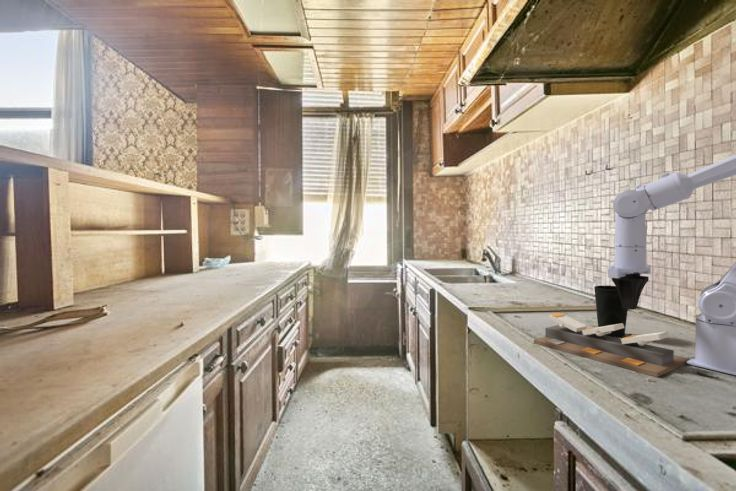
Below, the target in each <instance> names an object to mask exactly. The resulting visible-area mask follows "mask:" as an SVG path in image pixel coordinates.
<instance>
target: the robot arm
mask: <svg viewBox="0 0 736 491" xmlns="http://www.w3.org/2000/svg"><path fill="white" fill-rule="evenodd" d="M734 176H736V154H733V155H731V156H729V157H726V158H724V159H722V160H720V161H719V160H718V161H717V162H715V163H712V164H710V165H708V166H705V167H702V168H701V169H697V170H695V171H692V172H691V173H689V174H686V173H685V174H684V173H681V172H674V173H672V174H670V173H669V172H665V173H663V174H661V175H660V177H661V178H659V179H656V180H653V181H650V182H648V183H646V184H644V185H641V184H637V185H635V187H634V188H635V189H625V190H623V191H622V192H620V193H619V194H618V195H616V196H615V198H614V199H613V201H612V202H613V203H612V208H613V211H614V212H615V220H614V221H615V225H614V260H613V262H614V265H608V268H607V278H611V281H612V282H613V283H614V286H616V288H617V290H618V292H619V295H620V299H621V303H622V306H623V308H625V309H628V310H632V311H633V310H636V309H637V306H638V304H639V300H640V297H641V295H642V292H643V290H644V288H645V286H646V284H647V283H648V282H649V281H650V280H649V278H650V277H649V276H646V274H647V275H650V274H652V273H651V271H652V270H651V269H652V268H651V266H652V265H651V264H647V238H648V237H647V231H648V230H647V229H648V228H647V227H648V226H647V224H646V223H647V222H646V221H647V220H646V219H647V216H646V214H647V213H648V211H649V210H650V211H657V210H659V209H662V208H665V207H668V206H670V205H674V204H677V203H679V202H682V201H685V200H687V199H690V198H691V196H692V195H693V192H694V190H696V189H699V188H701V187H704V186H708V185H710V184H713V183H716V182H720V181H722V180H726V179H728V178H731V177H734ZM643 274H644V275H643ZM697 306H698V309H699V311H700V313H699V314H696V315H695V334H694V335H695V336H694V338H695V344H694V345H695V347H694V352H695V353H694V357H692V358H691V359H690V358H689V359H690V360H688V361H686V363H687V364H686V365H691V366H696V367H700V368H703V369H707V370H708V369H709V370H712V371H716V372H721V373H725V374H729V375H733V376H736V261H735V262H734V263H733V265H732V266H731V267H730V268H729V269H728V270H727V271H726V272H725V273H724V274H723V275H722V276H721V278H720V279H718V280H717V281H716V282H714V283H713V284H710V285H708V286H706V287H704V288H703V289H702V290H701V292H700V294H699V298H698V303H697Z"/></svg>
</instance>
